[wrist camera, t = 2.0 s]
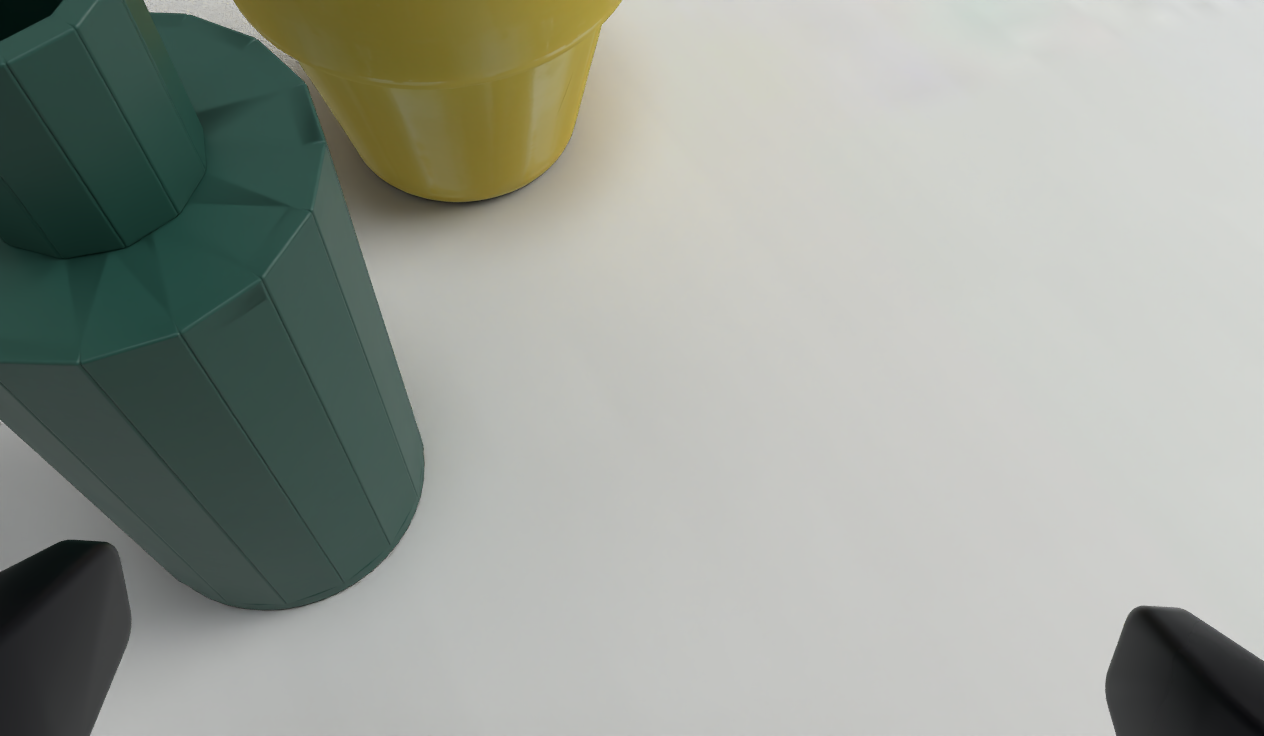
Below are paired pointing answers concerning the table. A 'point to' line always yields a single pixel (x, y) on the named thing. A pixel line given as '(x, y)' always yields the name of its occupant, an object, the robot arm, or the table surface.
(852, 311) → the table surface
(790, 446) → the table surface
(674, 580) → the table surface
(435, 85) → the flower pot
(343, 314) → the bottle
